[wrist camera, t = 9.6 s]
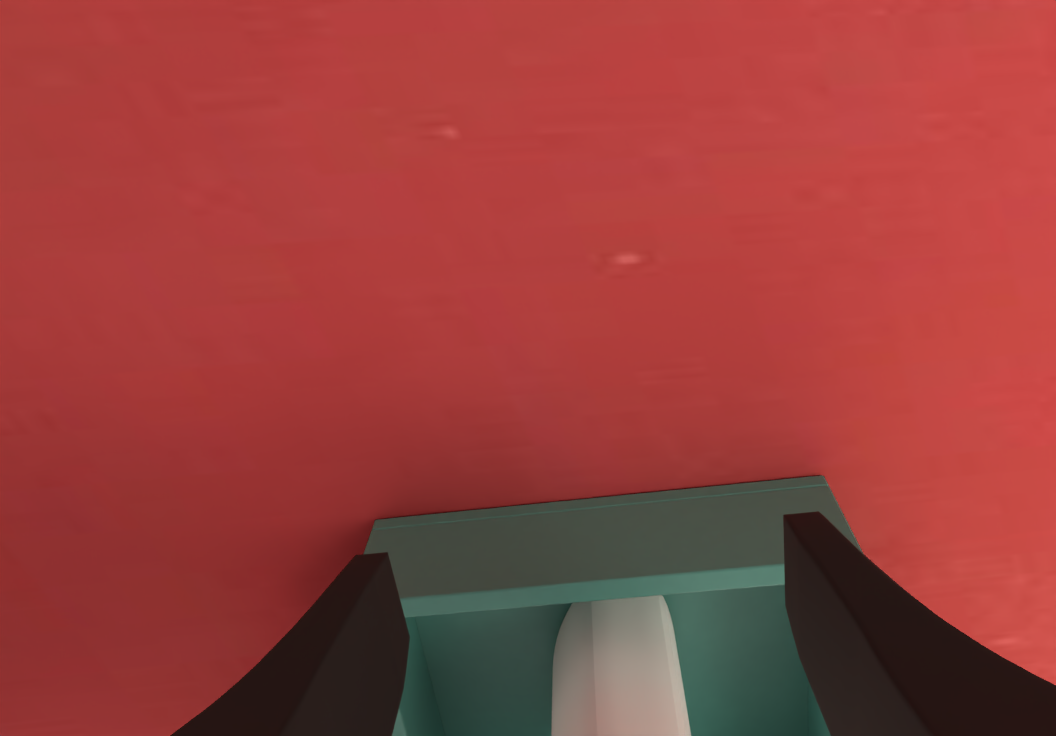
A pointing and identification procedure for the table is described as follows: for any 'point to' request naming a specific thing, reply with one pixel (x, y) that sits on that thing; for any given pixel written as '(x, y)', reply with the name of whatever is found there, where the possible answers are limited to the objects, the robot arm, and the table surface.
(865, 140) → the table surface
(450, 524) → the desk tidy
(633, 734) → the eye dropper bottle
